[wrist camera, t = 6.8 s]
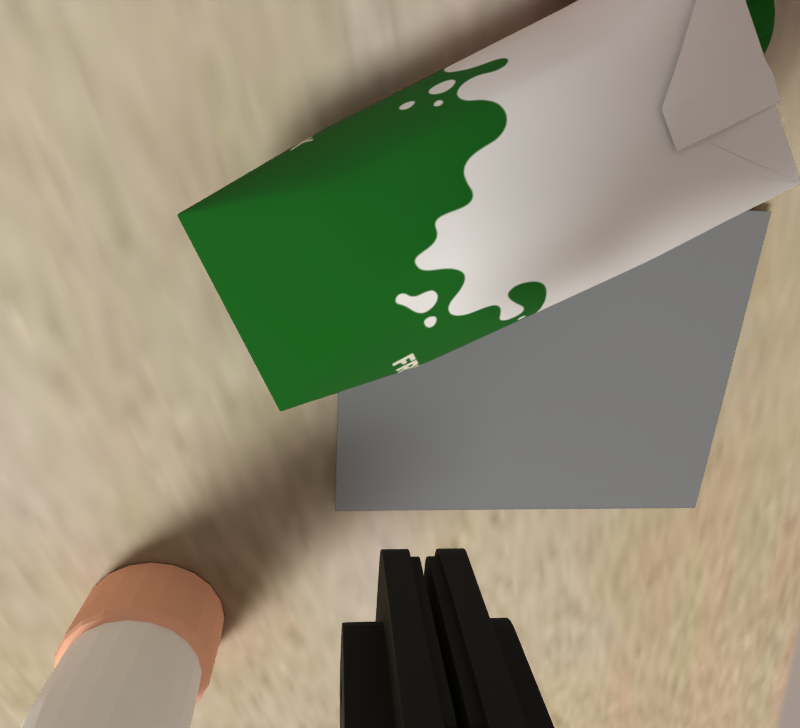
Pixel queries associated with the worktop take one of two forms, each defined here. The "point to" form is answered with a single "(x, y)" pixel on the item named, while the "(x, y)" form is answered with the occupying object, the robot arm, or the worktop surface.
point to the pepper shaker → (134, 653)
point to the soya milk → (496, 189)
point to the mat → (564, 396)
